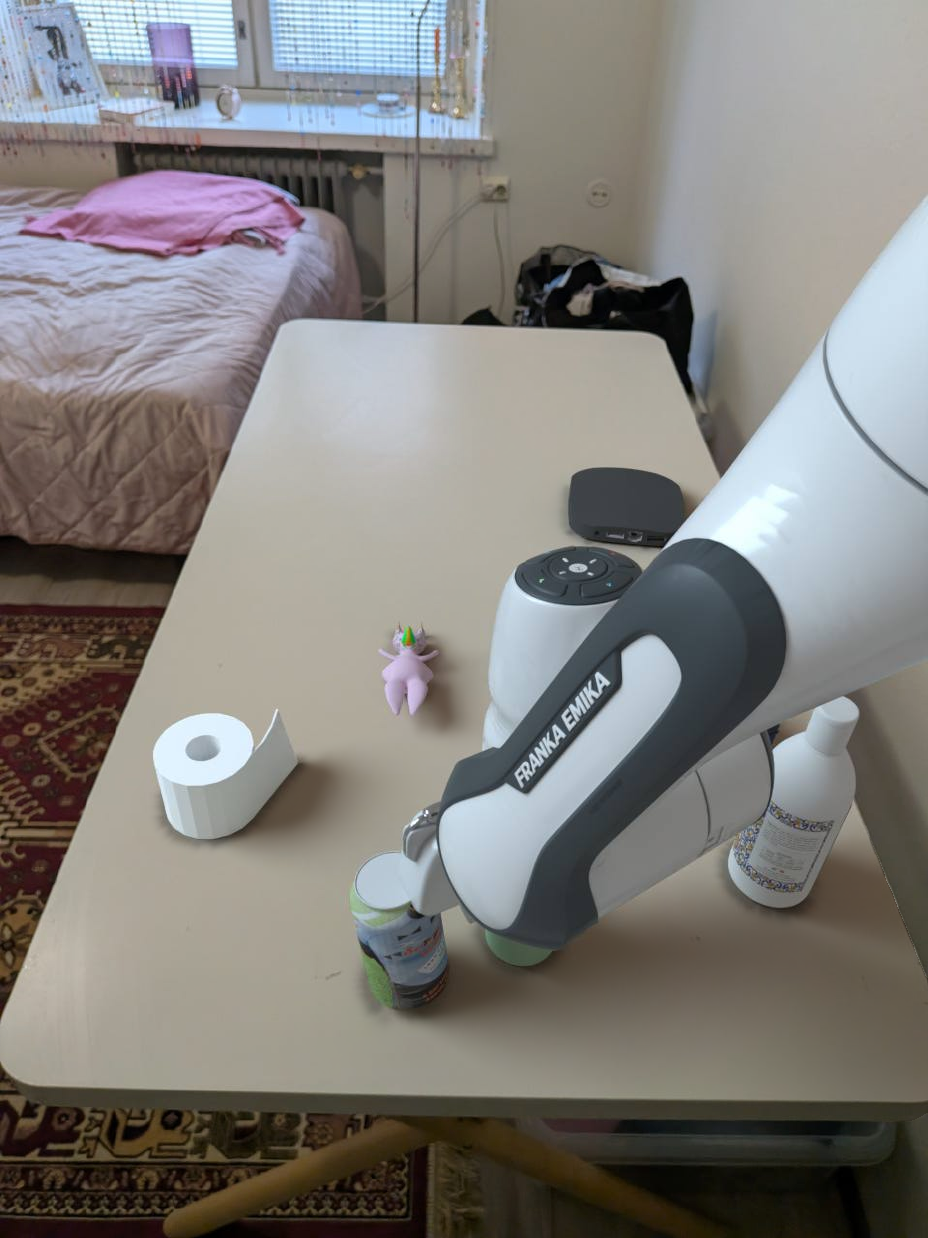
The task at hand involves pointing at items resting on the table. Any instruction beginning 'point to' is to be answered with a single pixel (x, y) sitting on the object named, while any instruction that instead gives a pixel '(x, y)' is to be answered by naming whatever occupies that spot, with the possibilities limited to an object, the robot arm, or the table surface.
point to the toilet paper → (219, 772)
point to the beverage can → (396, 937)
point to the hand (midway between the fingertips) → (529, 888)
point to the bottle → (515, 951)
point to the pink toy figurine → (407, 670)
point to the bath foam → (799, 810)
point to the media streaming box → (625, 506)
